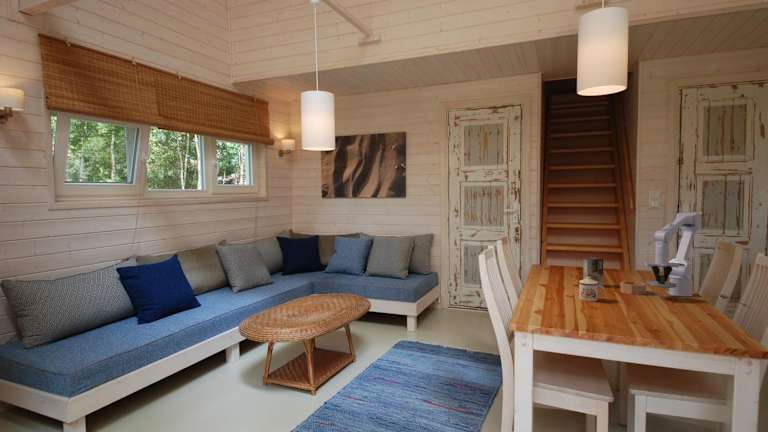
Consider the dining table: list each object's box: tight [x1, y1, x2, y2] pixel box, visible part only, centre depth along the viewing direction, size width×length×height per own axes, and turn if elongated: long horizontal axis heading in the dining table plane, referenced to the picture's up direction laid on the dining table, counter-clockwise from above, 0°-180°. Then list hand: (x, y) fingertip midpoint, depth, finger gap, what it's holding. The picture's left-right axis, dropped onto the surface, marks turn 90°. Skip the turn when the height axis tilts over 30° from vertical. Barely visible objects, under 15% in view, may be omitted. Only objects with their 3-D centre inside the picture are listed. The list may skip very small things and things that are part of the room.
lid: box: [645, 274, 677, 289], centre depth 221 cm, size 13×13×5 cm
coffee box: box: [582, 256, 604, 287], centre depth 250 cm, size 9×6×16 cm
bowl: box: [619, 280, 647, 296], centre depth 234 cm, size 11×11×5 cm
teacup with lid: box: [578, 277, 606, 302], centre depth 220 cm, size 12×9×12 cm
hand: (661, 281), depth 221 cm, fingers closed on lid, 3 cm apart
